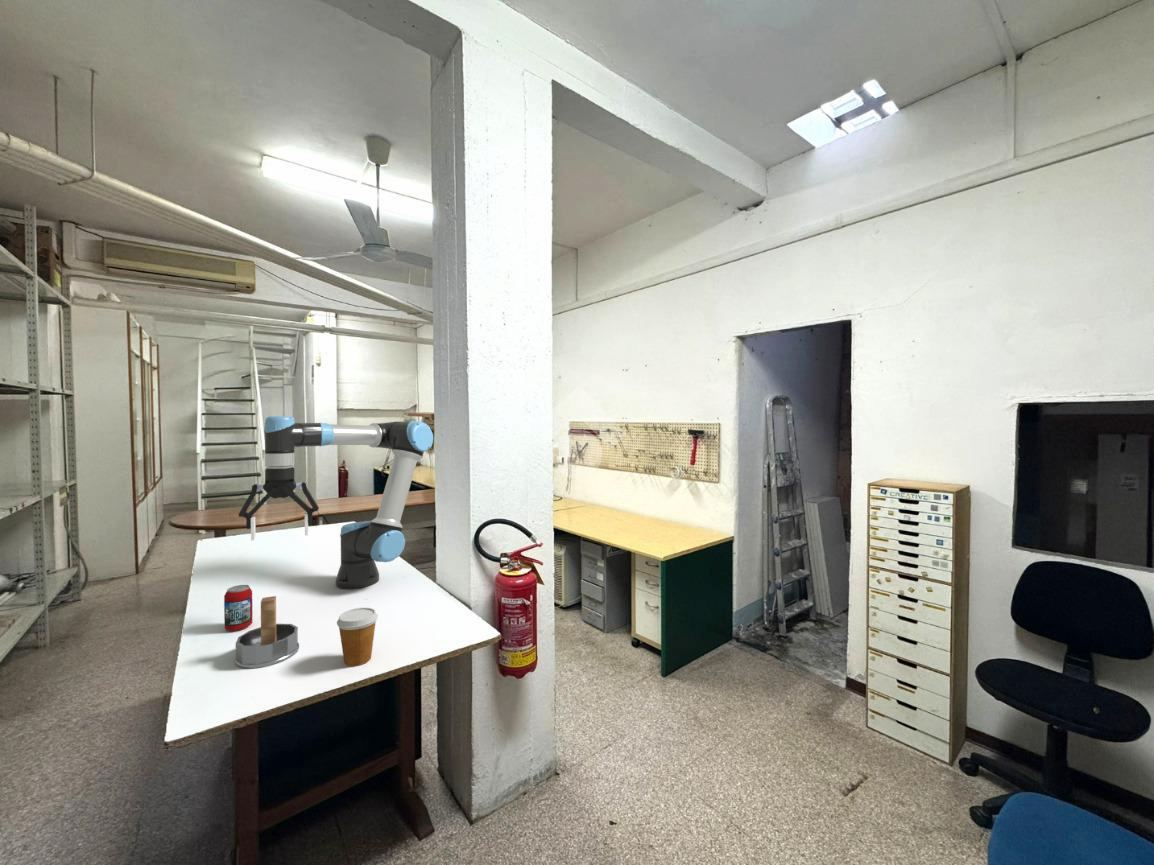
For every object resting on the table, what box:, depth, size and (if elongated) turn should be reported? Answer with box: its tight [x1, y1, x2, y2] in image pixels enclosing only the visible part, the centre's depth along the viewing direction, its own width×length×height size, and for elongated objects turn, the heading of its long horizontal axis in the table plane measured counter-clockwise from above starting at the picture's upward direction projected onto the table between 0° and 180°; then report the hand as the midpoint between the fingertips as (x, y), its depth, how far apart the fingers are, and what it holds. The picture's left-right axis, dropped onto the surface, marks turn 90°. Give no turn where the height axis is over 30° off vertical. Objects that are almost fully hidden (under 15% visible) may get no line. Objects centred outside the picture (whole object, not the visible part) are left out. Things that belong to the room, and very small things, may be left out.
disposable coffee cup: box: [336, 607, 379, 667], centre depth 117 cm, size 10×10×12 cm
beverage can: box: [223, 584, 253, 632], centre depth 136 cm, size 7×7×12 cm
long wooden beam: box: [260, 595, 277, 645], centre depth 120 cm, size 3×3×14 cm
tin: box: [234, 623, 300, 670], centre depth 120 cm, size 14×14×5 cm
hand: (280, 537), depth 138 cm, fingers open, 13 cm apart
